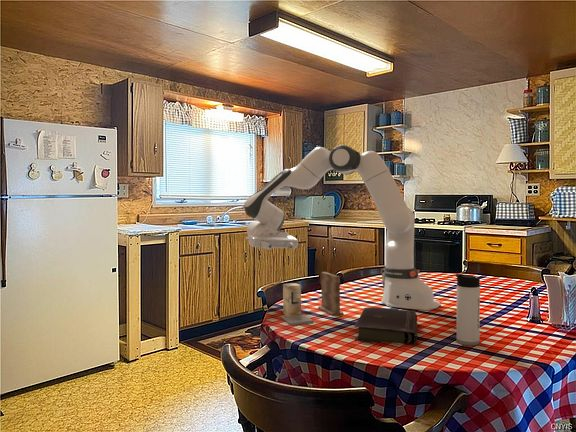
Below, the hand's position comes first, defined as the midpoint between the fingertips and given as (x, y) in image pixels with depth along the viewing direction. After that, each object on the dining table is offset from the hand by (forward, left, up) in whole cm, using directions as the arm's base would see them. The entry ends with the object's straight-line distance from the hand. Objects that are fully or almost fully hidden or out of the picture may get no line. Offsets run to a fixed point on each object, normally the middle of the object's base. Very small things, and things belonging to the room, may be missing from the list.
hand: (281, 246), depth 177 cm
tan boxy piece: (-10, +6, -24) cm, 26 cm away
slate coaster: (-17, +12, -24) cm, 31 cm away
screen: (-19, -6, -24) cm, 31 cm away
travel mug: (-71, +2, -24) cm, 75 cm away
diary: (-47, +5, -24) cm, 53 cm away
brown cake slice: (-22, -56, -24) cm, 65 cm away
